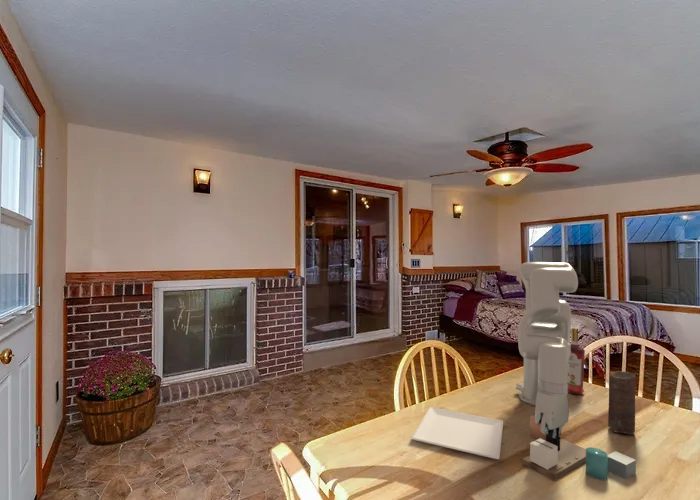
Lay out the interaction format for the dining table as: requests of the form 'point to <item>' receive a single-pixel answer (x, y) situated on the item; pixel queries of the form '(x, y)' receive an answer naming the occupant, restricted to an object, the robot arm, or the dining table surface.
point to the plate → (461, 432)
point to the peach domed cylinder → (536, 429)
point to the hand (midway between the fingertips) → (552, 449)
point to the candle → (622, 402)
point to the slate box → (621, 465)
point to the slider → (544, 453)
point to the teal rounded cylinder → (596, 463)
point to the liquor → (575, 365)
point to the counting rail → (561, 460)
